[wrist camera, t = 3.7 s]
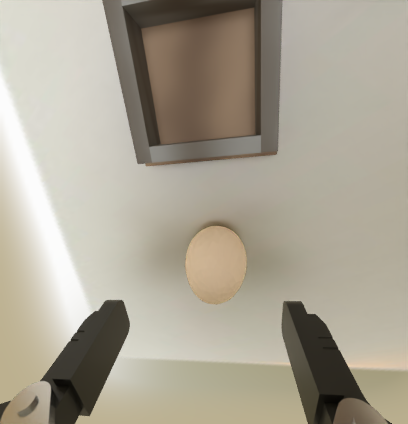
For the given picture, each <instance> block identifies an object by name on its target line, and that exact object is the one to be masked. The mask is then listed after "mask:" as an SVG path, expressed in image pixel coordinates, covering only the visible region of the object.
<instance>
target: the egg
mask: <svg viewBox="0 0 408 424" xmlns="http://www.w3.org/2000/svg"><path fill="white" fill-rule="evenodd" d="M246 268H247V258H246V251H245V248H244V245H243V243H242V241H241V240H240V238H239V237H238V235H237V234H236V233H234V232H233V231H232V230H230V229H228V228H226V227H222V226H210V227H207V228H205V229H203V230H201V231H200V232H198V233H197V235H196V236H195V237H194V238H193V239H192V241H191V243H190V245H189V247H188V250H187V254H186V259H185V269H186V275H187V278H188V282H189V285H190V286H191V288H192V290H193V292H194V294H195V295H196V296H197V297H198V298H200V299H201V300H202V301H204V302H206V303H209V304H220V303H223V302H226V301H228V300H230V299H231V298H232V297H233V296H234V295H235V294H236V292H237V291H238V289H239V288H240V286H241V284H242V282H243V280H244V278H245V274H246Z"/></svg>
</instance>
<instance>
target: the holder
mask: <svg viewBox="0 0 408 424" xmlns="http://www.w3.org/2000/svg"><path fill="white" fill-rule="evenodd" d="M102 1H103V5H104V10H105V15H106V19H107V24H108V29H109V33H110V38H111V42H112V47H113V52H114V56H115V61H116V65H117V70H118V75H119V79H120V84H121V89H122V93H123V98H124V102H125V107H126V112H127V116H128V121H129V126H130V130H131V135H132V139H133V144H134V149H135V153H136V158H137V163H138V164H144V163H145V164H146V166H154V165H165V164H176V163H187V162H198V161H209V160H220V159H231V158H242V157H253V156H264V155H275V154H277V151H278V128H279V94H280V60H281V26H282V0H102Z"/></svg>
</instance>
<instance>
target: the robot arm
mask: <svg viewBox="0 0 408 424" xmlns="http://www.w3.org/2000/svg"><path fill="white" fill-rule="evenodd" d="M129 327H130V322H129V318H128V315H127V311H126V308H125V305H124V302H123V301H122V300H107V301H105V302H104V304H103V305H102V306H101V308H100V309H99V311H95V312H94V313H92V314H91V315H90V316H89V317H88V318H87V319H86V320H85V321H84V322H83V323H82V325H81V326H80V327H79V329H78V330H77V333H75V334H74V336H73V337H72V339H71V341H70V342H69V343H68V344H67V345H66V347H65V348H64V350H63V351H62V352H61V353H60V355H59V356H58V358H57V359H56V361H55V362H54V363H53V364H52V366H51V367H50V369H49V370H48V371H47V373H46V374H45V376H44V377H43V378H42V379H41V380H40V382H36V383H33V384H31V385H29V386H28V387H26V388H25V389H23V390H22V391H21V392H20V393H18V394H17V395H16V396H15V397H14V398H13V400H12V401H8V402H5V403H3V404H0V424H75V422H76V420H77V418H78V416H79V415H82V416H90V414H91V412H92V410H93V408H94V406H95V403H96V401H97V399H98V397H99V395H100V393H101V390H102V388H103V386H104V384H105V382H106V380H107V377H108V375H109V373H110V371H111V369H112V367H113V365H114V363H115V361H116V358H117V356H118V354H119V352H120V350H121V348H122V346H123V343H124V341H125V339H126V337H127V335H128V332H129ZM282 334H283V339H284V342H285V346H286V349H287V353H288V356H289V360H290V363H291V367H292V370H293V373H294V377H295V380H296V384H297V387H298V391H299V394H300V398H301V401H302V405H303V408H304V412H305V415H306V418H307V422H308V424H392V423H390V422H389V421H387V420H386V419H384V418H383V417H382V416H381V414H380V413H379V412H378V411H376V410H375V409H374V408H373V407H372V406H371V405H370V404H369V403H368V402H367V401H366V399H365V397H364V396H363V394H362V392H361V390H360V388H359V386H358V385H357V383H356V381H355V379H354V377H353V375H352V373H351V372H350V369H349V367H348V366H347V364H346V362H345V360H344V358H343V356H342V354H341V352H340V350H338V347H337V345H336V343H335V341H334V340H333V338H332V335H331V333H330V331H329V330H328V328H327V326H326V324H325V323H324V322H323V321H322V320H321V319H320V318H319V317H318V316H317V315H316V314H307V312H306V310H305V308H304V305H303V304H302V302H301V301H284V303H283V313H282Z"/></svg>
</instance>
